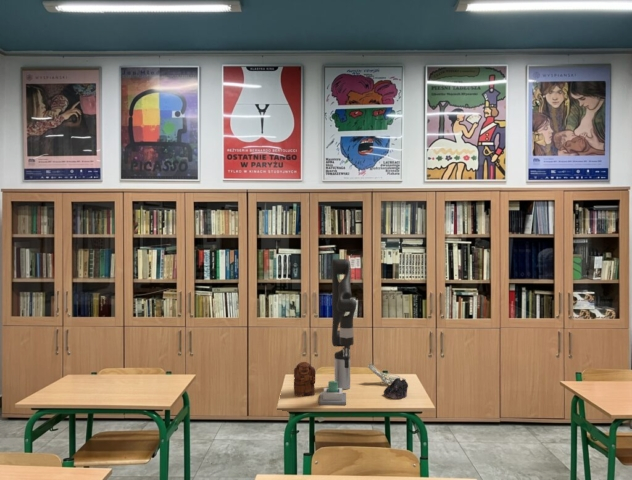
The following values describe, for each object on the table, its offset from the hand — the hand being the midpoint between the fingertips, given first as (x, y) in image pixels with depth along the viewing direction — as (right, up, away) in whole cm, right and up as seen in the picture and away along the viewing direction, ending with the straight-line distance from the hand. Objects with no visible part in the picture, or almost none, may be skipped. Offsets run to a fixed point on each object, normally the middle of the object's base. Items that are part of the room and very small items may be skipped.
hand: (346, 367), depth 267 cm
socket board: (-8, -17, -2) cm, 19 cm away
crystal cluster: (+28, -17, +6) cm, 33 cm away
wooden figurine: (-23, -18, +8) cm, 30 cm away
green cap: (-7, -16, -2) cm, 17 cm away
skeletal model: (+26, -18, +30) cm, 44 cm away
